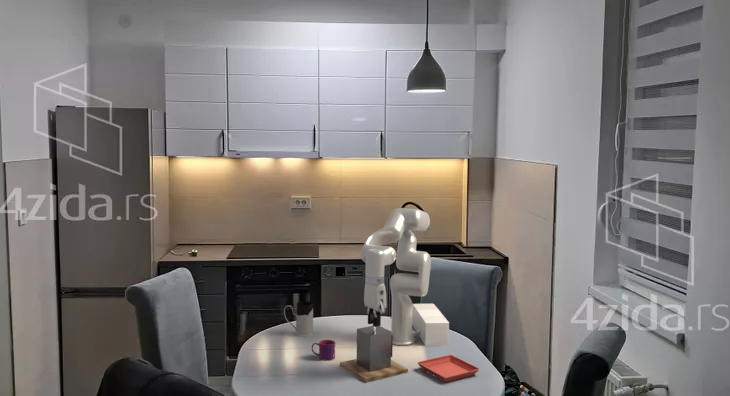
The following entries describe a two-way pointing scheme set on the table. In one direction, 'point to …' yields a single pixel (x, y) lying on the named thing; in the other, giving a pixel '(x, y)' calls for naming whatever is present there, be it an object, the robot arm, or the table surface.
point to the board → (374, 375)
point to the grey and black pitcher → (303, 319)
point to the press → (374, 348)
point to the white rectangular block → (430, 324)
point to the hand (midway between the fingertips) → (374, 324)
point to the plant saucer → (448, 368)
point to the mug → (326, 350)
